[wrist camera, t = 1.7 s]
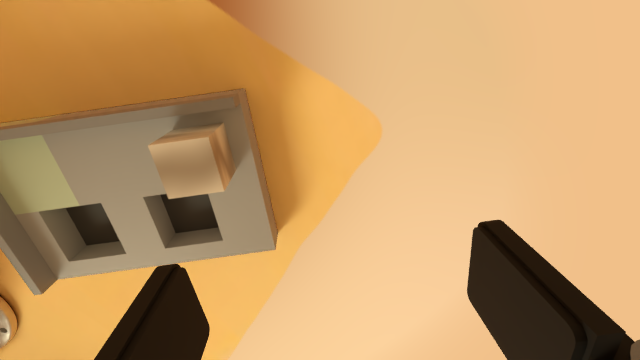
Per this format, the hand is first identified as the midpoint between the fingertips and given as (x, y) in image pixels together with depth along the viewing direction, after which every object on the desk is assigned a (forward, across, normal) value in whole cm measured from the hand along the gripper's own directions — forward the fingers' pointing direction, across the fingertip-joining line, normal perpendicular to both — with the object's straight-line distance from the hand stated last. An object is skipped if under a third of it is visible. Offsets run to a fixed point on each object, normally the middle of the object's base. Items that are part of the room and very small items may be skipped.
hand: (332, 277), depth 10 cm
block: (+18, +10, 0) cm, 20 cm away
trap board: (+21, +18, +4) cm, 28 cm away
